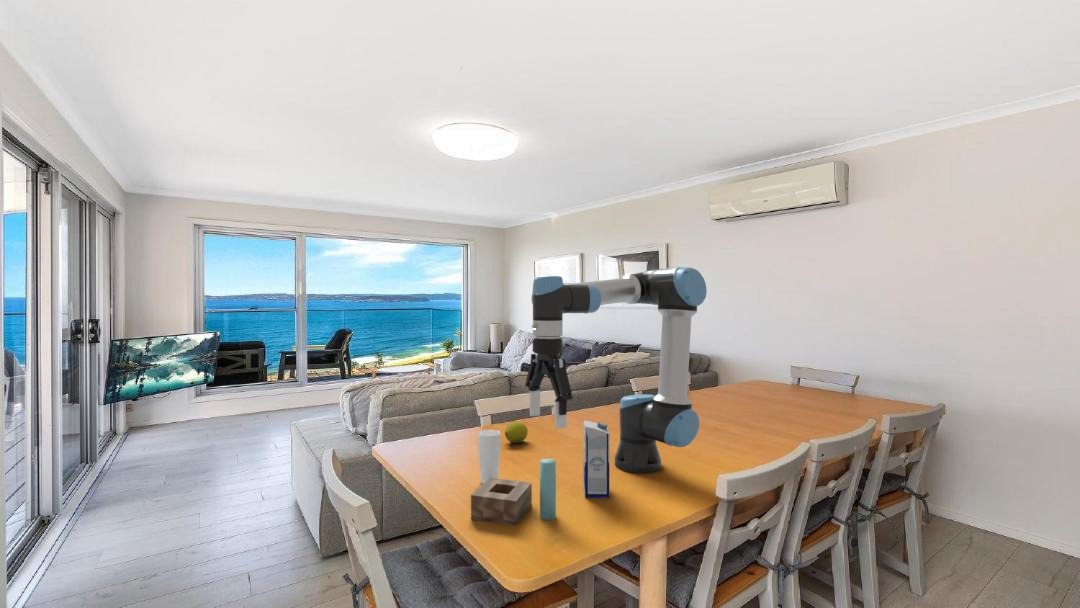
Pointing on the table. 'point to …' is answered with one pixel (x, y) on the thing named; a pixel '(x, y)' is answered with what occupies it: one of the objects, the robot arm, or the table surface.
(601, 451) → the milk carton
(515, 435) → the lemon
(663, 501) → the table surface
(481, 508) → the bore block
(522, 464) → the table surface
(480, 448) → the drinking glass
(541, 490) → the dowel
